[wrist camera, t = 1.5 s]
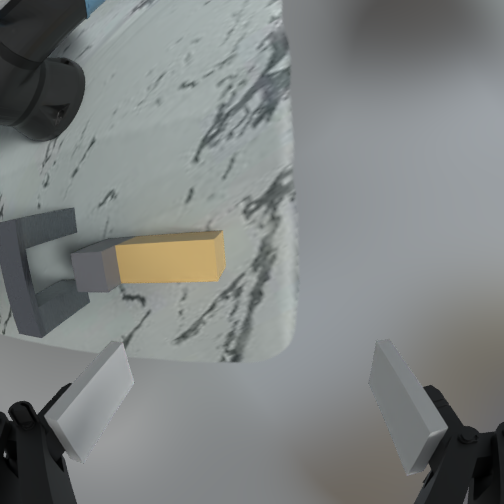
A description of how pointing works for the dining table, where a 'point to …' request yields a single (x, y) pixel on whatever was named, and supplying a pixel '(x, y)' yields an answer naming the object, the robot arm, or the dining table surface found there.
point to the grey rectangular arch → (19, 279)
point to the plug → (150, 260)
